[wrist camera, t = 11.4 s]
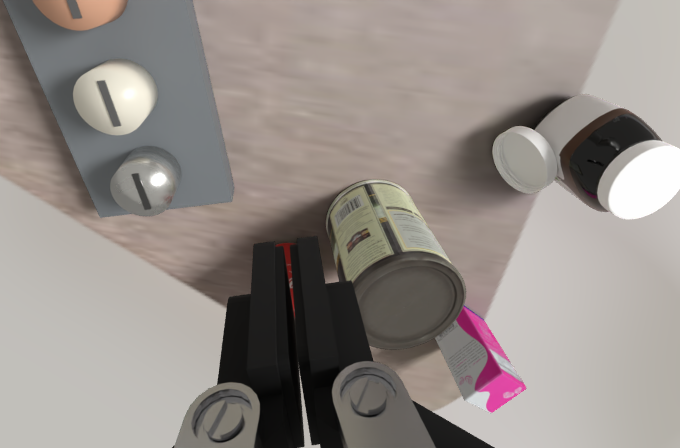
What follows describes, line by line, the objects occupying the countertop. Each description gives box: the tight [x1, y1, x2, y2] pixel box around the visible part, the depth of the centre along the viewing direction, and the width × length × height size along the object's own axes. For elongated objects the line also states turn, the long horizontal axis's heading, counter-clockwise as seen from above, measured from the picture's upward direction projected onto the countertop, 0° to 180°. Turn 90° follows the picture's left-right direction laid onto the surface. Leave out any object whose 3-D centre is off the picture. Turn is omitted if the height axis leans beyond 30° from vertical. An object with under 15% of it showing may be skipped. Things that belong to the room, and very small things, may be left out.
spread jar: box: [492, 94, 680, 219], centre depth 39 cm, size 12×11×12 cm
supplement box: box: [435, 306, 526, 413], centre depth 52 cm, size 6×6×12 cm
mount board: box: [3, 0, 234, 218], centre depth 33 cm, size 22×12×3 cm, turn 3°
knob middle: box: [73, 58, 158, 135], centre depth 31 cm, size 5×5×7 cm
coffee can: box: [326, 180, 466, 350], centre depth 40 cm, size 10×10×14 cm
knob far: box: [110, 146, 182, 216], centre depth 35 cm, size 5×5×7 cm
